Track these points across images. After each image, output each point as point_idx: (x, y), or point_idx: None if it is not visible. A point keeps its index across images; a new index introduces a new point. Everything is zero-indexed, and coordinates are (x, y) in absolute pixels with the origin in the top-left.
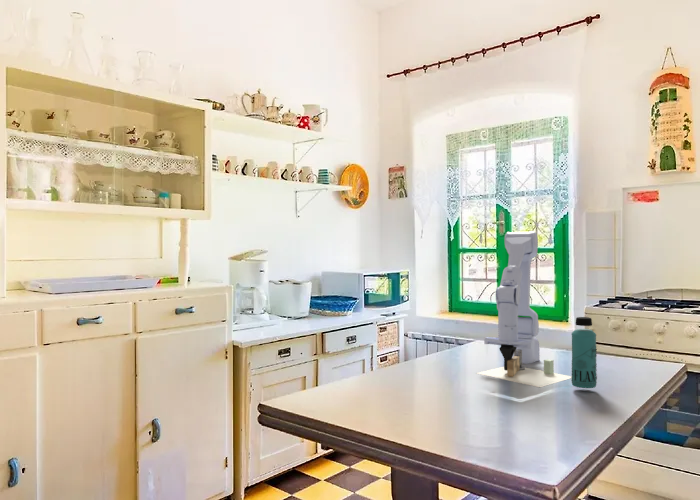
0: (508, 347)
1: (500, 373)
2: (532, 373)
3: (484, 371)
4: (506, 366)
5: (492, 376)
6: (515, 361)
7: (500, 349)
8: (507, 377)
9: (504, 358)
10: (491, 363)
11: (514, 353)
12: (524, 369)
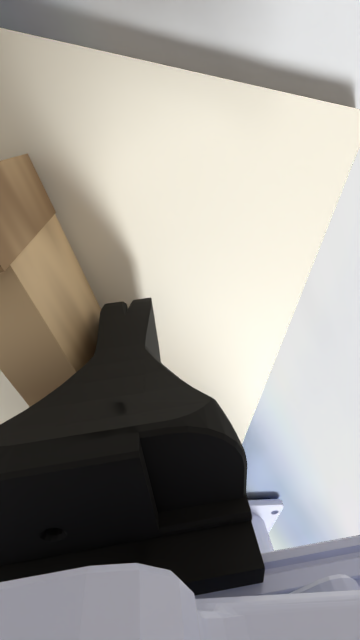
0: (61, 536)
1: (174, 262)
2: (5, 407)
3: (314, 235)
4: (126, 313)
5: (172, 82)
6: (18, 376)
7: (196, 409)
8: (33, 157)
9: (140, 350)
10: (340, 461)
11: None
12: None
